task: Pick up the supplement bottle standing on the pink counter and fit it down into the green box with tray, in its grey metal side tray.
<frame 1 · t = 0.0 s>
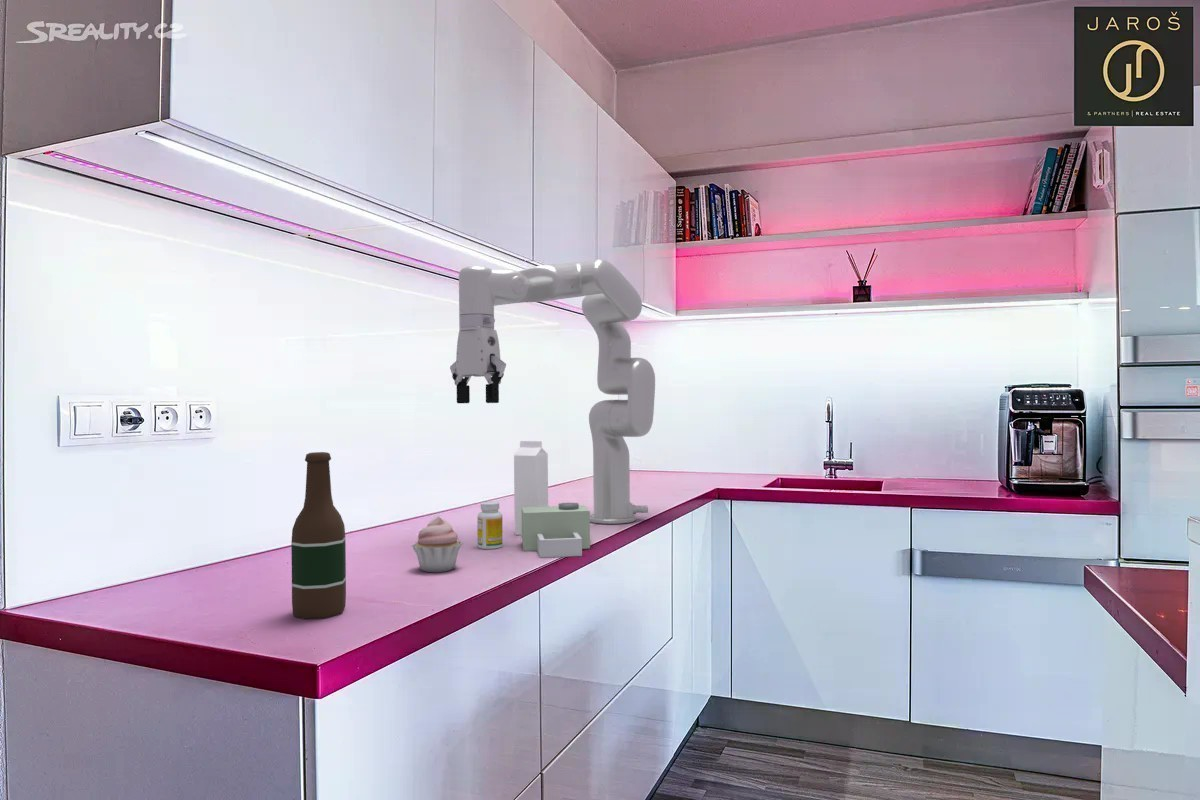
hand: (477, 403, 165), 31 cm above the worktop, tool pointing down, fingers open, 9 cm apart
milk: (531, 534, 181), on the worktop
beer bottle: (319, 613, 114), on the worktop
supplement bottle: (490, 548, 165), on the worktop
cupcake: (438, 570, 143), on the worktop
green box with tray: (555, 545, 165), on the worktop
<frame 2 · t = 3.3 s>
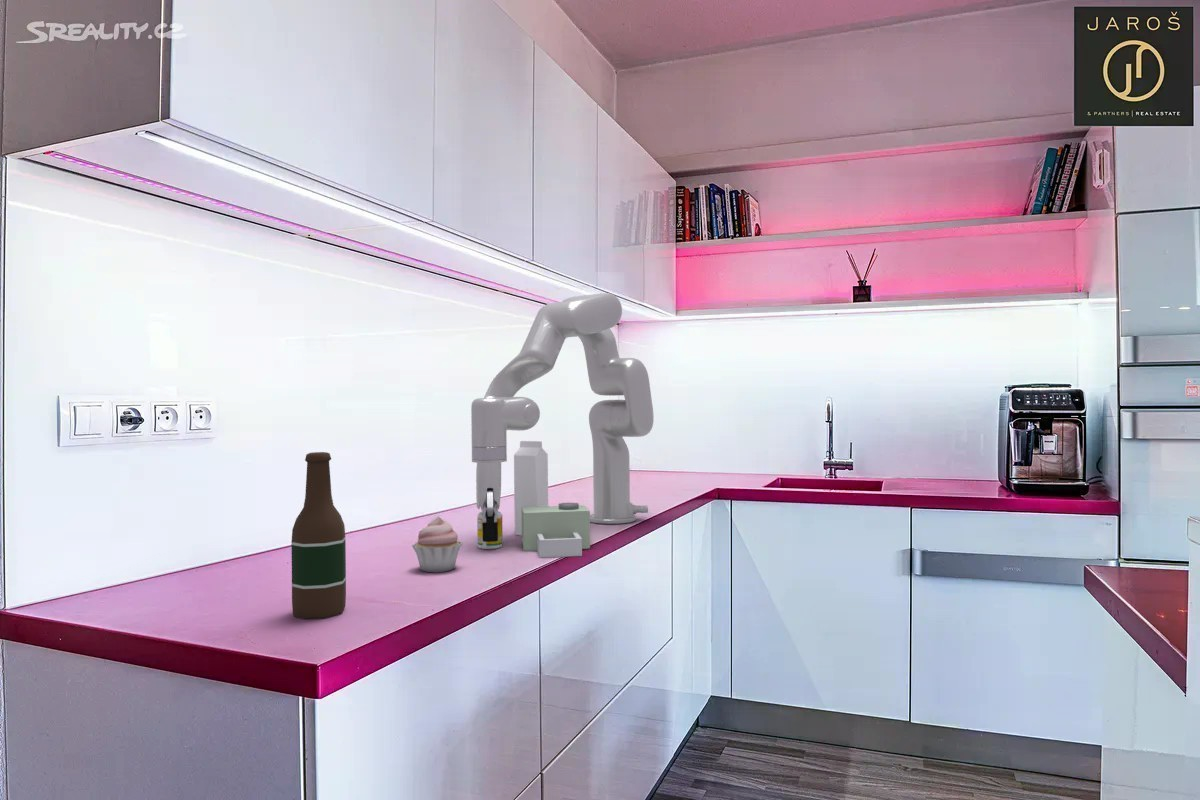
hand: (490, 537, 165), 2 cm above the worktop, tool pointing down, fingers closed on supplement bottle, 5 cm apart
supplement bottle: (490, 548, 165), on the worktop, touching gripper
everything else where it was.
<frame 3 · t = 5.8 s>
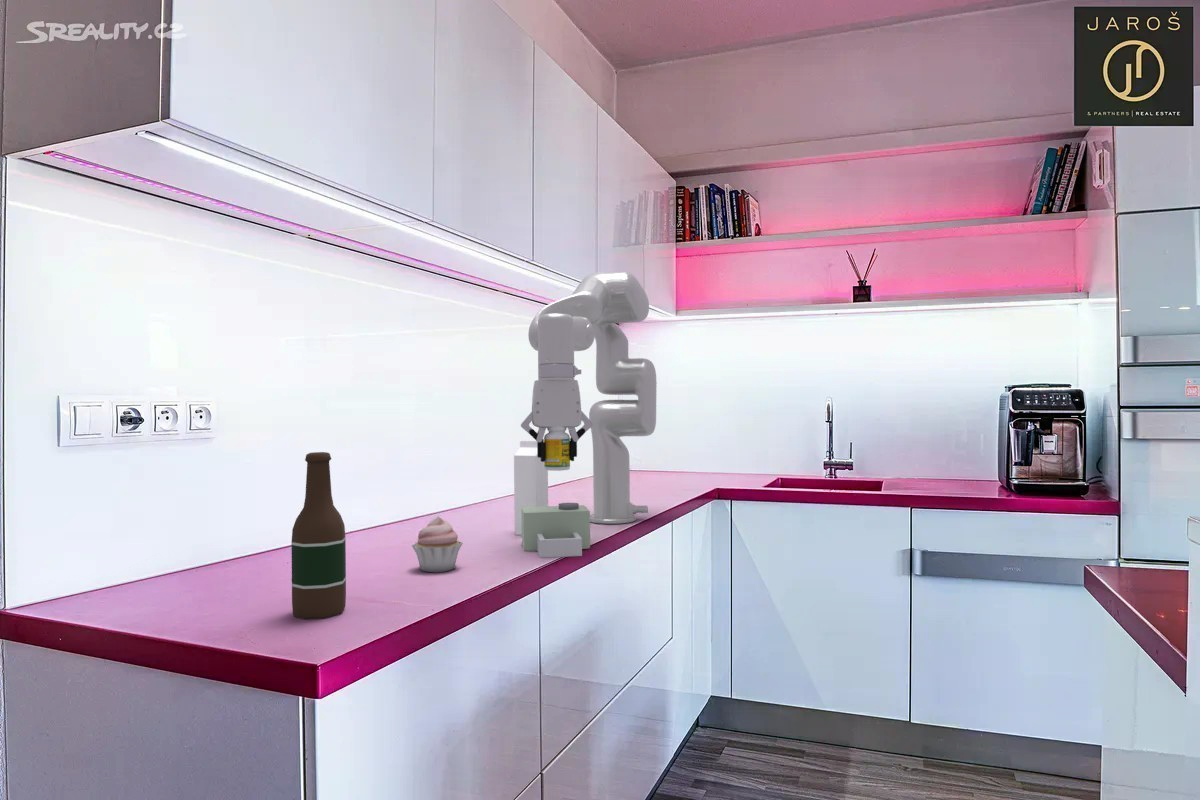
hand: (557, 460, 158), 19 cm above the worktop, tool pointing down, fingers closed on supplement bottle, 5 cm apart
supplement bottle: (557, 470, 158), point 17 cm above the worktop, touching gripper
everything else where it was.
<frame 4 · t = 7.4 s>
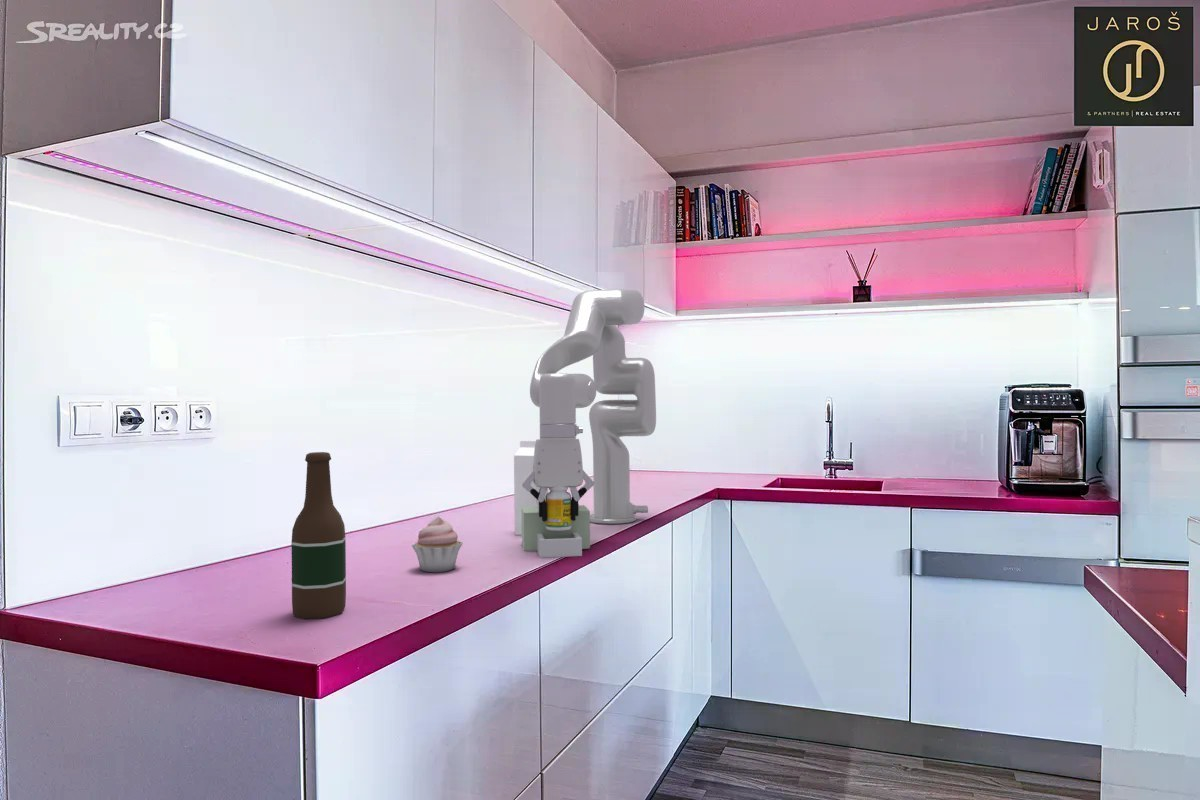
hand: (558, 519, 158), 7 cm above the worktop, tool pointing down, fingers closed on supplement bottle, 5 cm apart
supplement bottle: (558, 530, 158), point 5 cm above the worktop, touching gripper
everything else where it was.
when the fingers open (4 cm above the worktop, at t = 8.7 s): supplement bottle drops 2 cm, resting in green box with tray.
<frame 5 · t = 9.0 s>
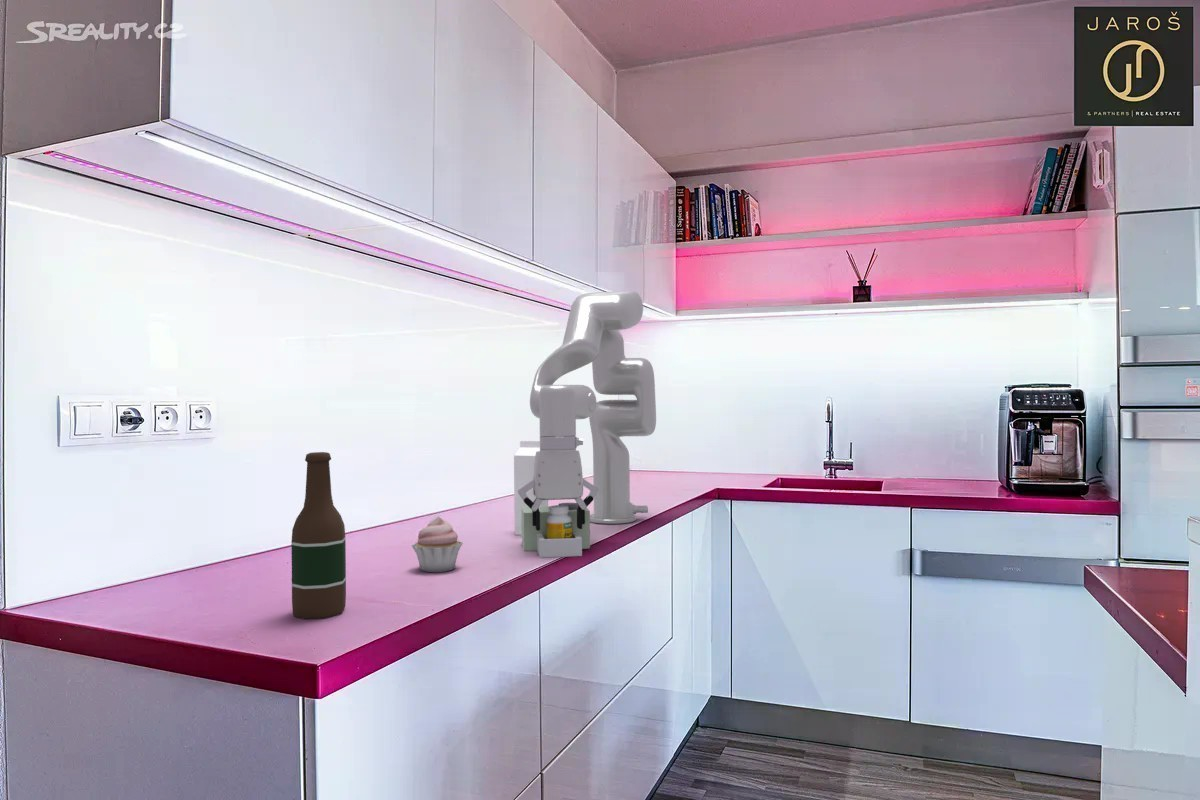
hand: (558, 528, 158), 5 cm above the worktop, tool pointing down, fingers open, 8 cm apart
supplement bottle: (559, 553, 158), resting in green box with tray
everything else where it was.
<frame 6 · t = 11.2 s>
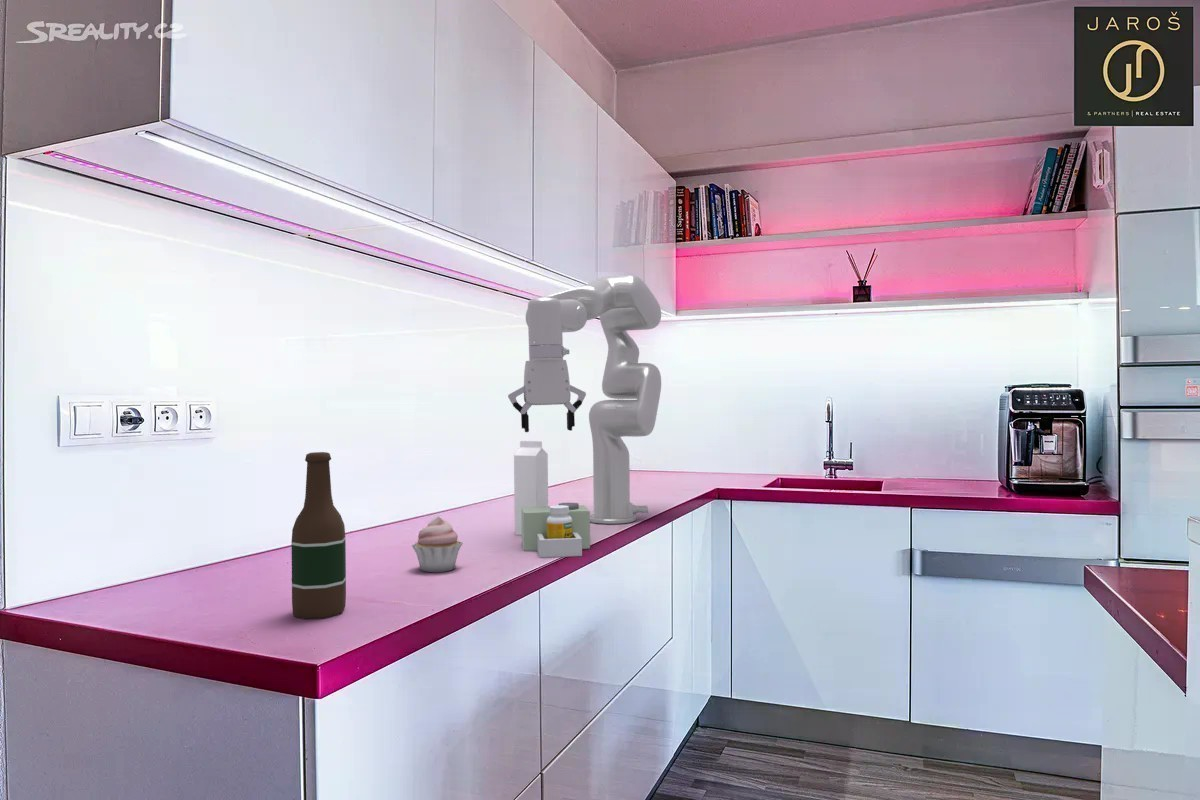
hand: (548, 431, 169), 25 cm above the worktop, tool pointing down, fingers open, 9 cm apart
nothing on the worktop moved.
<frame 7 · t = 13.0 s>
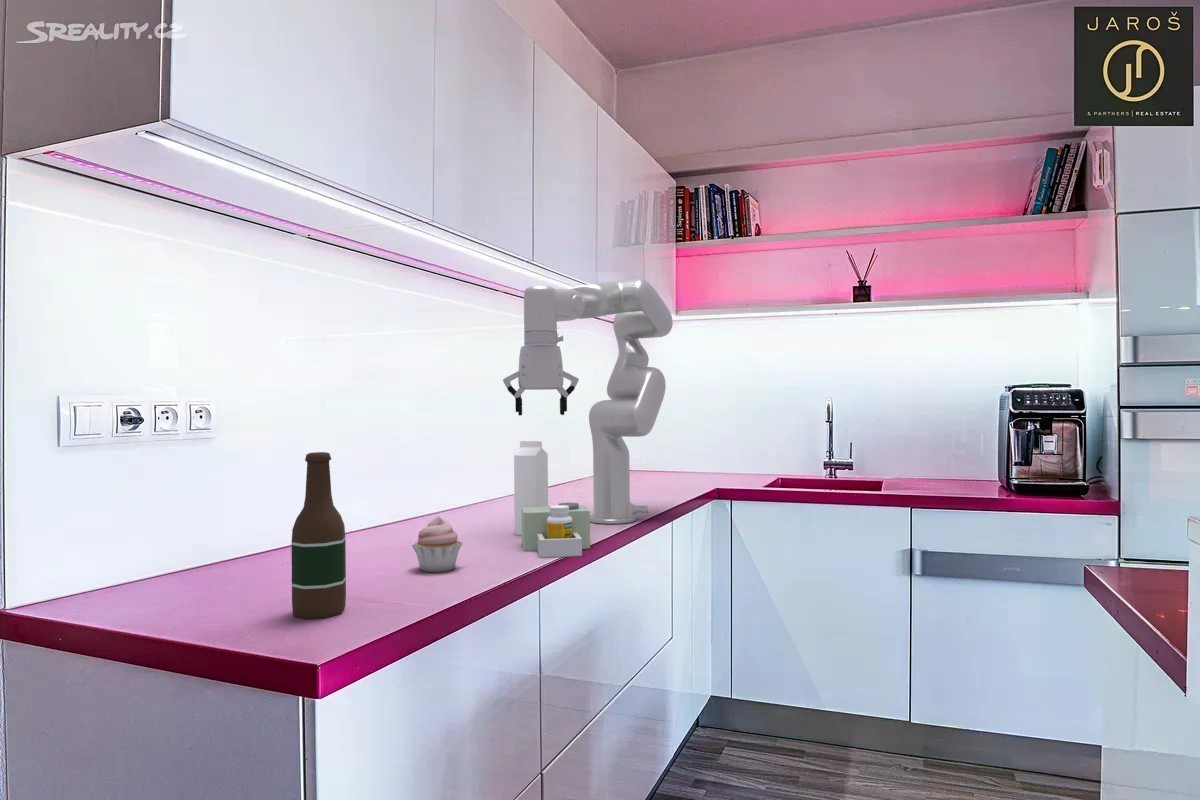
hand: (541, 415, 174), 28 cm above the worktop, tool pointing down, fingers open, 9 cm apart
nothing on the worktop moved.
at the end: supplement bottle 0.3 cm from the target spot on the green box with tray, point 0.0 cm above the green box with tray's base; supplement bottle tilted 0°; the gripper is holding nothing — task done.
